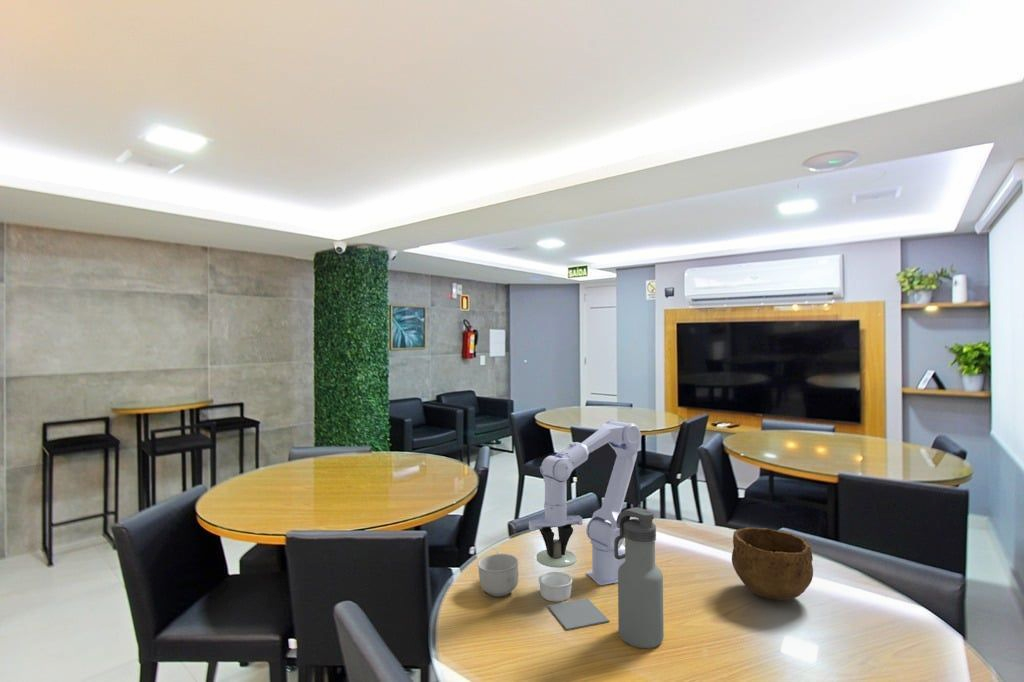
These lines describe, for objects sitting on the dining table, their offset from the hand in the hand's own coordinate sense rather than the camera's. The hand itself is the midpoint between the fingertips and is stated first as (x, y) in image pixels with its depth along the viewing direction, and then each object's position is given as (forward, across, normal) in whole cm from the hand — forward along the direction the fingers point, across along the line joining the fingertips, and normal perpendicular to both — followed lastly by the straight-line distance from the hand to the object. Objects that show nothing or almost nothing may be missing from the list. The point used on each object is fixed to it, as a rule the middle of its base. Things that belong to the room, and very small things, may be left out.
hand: (556, 554), depth 130 cm
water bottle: (+11, -10, +24) cm, 28 cm away
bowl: (+11, -53, +18) cm, 57 cm away
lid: (+1, 0, 0) cm, 1 cm away
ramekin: (+11, 0, 0) cm, 11 cm away
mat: (+10, -1, +11) cm, 15 cm away
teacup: (+11, +13, -8) cm, 19 cm away
